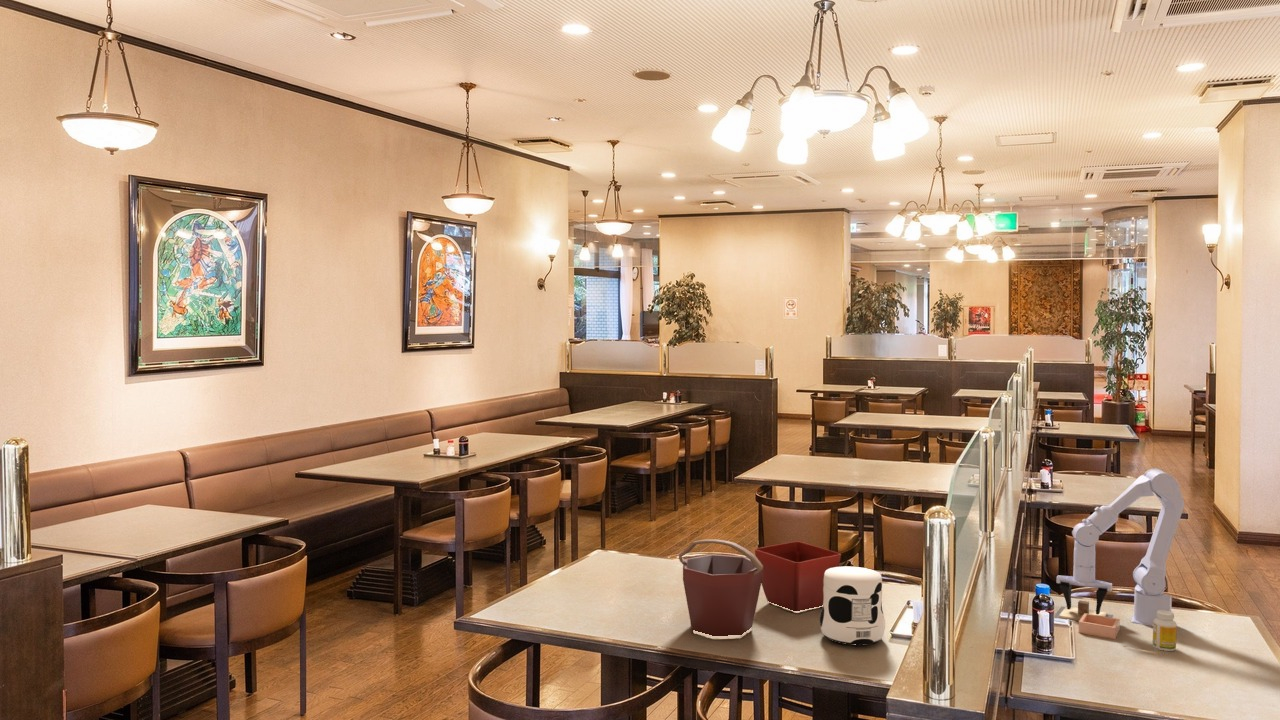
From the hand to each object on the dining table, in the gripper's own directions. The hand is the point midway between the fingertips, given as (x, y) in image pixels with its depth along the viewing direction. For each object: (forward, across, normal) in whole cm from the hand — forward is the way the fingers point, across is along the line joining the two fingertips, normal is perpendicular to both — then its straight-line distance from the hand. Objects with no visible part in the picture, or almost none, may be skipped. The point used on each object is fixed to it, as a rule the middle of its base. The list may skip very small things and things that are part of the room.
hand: (1083, 610), depth 264 cm
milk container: (+2, -48, -57) cm, 75 cm away
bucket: (+2, -81, -71) cm, 108 cm away
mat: (+2, 0, 0) cm, 2 cm away
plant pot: (+2, -73, -39) cm, 83 cm away
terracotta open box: (+2, +6, -12) cm, 14 cm away
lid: (+2, 0, 0) cm, 2 cm away
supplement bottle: (+2, +22, -15) cm, 27 cm away
